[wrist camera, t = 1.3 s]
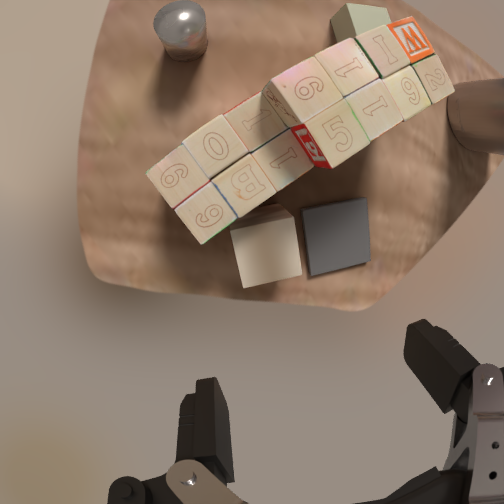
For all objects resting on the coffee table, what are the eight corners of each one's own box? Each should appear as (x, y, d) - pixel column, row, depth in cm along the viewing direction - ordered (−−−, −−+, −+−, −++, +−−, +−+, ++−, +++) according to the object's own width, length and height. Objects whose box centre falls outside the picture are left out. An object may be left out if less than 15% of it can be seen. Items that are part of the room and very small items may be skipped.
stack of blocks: (205, 216, 28) (195, 264, 16) (167, 164, 26) (126, 175, 14) (378, 104, 25) (458, 91, 14) (347, 54, 23) (415, 14, 12)
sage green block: (366, 22, 22) (386, 8, 18) (376, 56, 23) (398, 46, 19) (329, 19, 22) (346, 3, 17) (340, 55, 23) (359, 42, 19)
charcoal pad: (363, 197, 28) (366, 198, 28) (367, 258, 31) (370, 260, 30) (300, 209, 28) (302, 210, 27) (309, 272, 31) (311, 275, 30)
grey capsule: (204, 23, 21) (201, -5, 15) (211, 56, 22) (209, 33, 17) (163, 33, 21) (150, 7, 15) (169, 66, 22) (156, 46, 16)
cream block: (278, 203, 28) (293, 217, 22) (286, 250, 30) (302, 274, 24) (227, 213, 28) (230, 230, 22) (238, 261, 29) (243, 288, 24)
